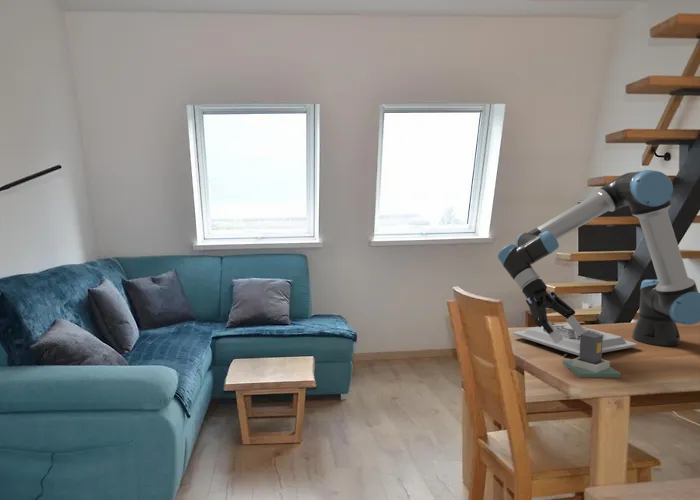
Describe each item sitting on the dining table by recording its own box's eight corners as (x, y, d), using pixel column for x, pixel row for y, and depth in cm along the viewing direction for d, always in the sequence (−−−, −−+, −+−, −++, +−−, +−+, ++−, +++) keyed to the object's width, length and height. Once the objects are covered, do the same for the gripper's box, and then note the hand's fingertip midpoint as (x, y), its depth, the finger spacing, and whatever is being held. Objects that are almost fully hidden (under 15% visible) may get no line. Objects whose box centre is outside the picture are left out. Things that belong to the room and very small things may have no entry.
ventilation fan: (566, 314, 195) (639, 332, 168) (565, 330, 195) (638, 350, 169) (512, 321, 181) (582, 341, 155) (511, 337, 182) (581, 360, 155)
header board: (600, 363, 154) (601, 354, 154) (620, 377, 142) (621, 367, 142) (562, 363, 154) (563, 353, 154) (579, 377, 142) (580, 366, 142)
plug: (586, 362, 151) (588, 332, 150) (601, 367, 148) (603, 335, 147) (579, 365, 149) (580, 334, 148) (594, 370, 145) (595, 337, 144)
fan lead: (569, 350, 167) (569, 348, 167) (571, 351, 167) (571, 348, 167) (563, 357, 160) (563, 354, 160) (565, 357, 160) (565, 355, 160)
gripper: (544, 286, 173) (582, 337, 162) (501, 295, 158) (540, 350, 148) (558, 274, 168) (599, 325, 157) (515, 281, 153) (557, 338, 143)
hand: (571, 337), depth 153 cm, fingers open, 13 cm apart
